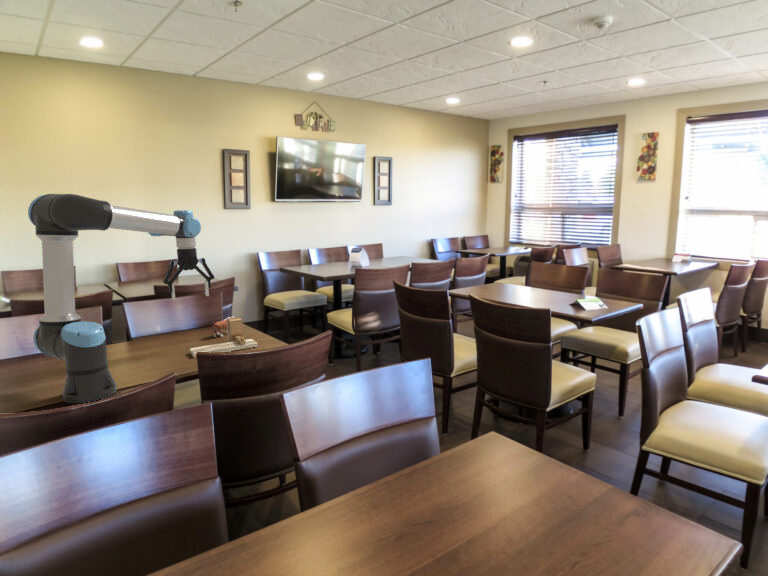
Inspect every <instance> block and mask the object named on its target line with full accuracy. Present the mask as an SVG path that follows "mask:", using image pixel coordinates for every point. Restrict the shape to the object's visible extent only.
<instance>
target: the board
mask: <svg viewBox="0 0 768 576" xmlns="http://www.w3.org/2000/svg"><path fill="white" fill-rule="evenodd" d="M244 340H245V341H246V344H240V343H238V342H237V341H233V342H228V341H227V342H220V343H216V344H215V343H213V344H210V345H209V344H208V345H203V346H197V347H191V348H189V353H190V355H191V356H192V357H193V358H194V359H197V358H196V353H197V352H209V353H211V352H228V353H232V352H231V351H233V350H239V349H245V348H251V347H257V348H258V347H259V346H258V345H259V344H258V342H257V341H255V340H254V339H253V338H247V339H244ZM251 349H252V348H251Z"/></svg>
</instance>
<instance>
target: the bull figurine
mask: <svg viewBox="0 0 768 576" xmlns="http://www.w3.org/2000/svg"><path fill="white" fill-rule="evenodd" d="M234 317H235V316H234V315H232V316H230V317H229V316H228V317H227V318H234ZM227 318H225V319H223V320H221V321H217V322H214V323H213V324H212V328H213V331H212V332H213V337H214V338H217V335H218V336H220V337H225V336H224V334H222V332H223V331H225V334H227V335H228V331H227ZM216 333H217V335H216Z"/></svg>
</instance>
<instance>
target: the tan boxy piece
mask: <svg viewBox="0 0 768 576" xmlns="http://www.w3.org/2000/svg"><path fill="white" fill-rule="evenodd" d="M226 319H227V331H228V334H227V342H233V341H237V342H238V343H240V344H246V341H245V340H246V339H245V337H244V332H243V331H244V329H243V319H242V318H241V317H239V316H237V317H236V316H234V318H228V317H226Z"/></svg>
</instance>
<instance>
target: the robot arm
mask: <svg viewBox="0 0 768 576" xmlns="http://www.w3.org/2000/svg"><path fill="white" fill-rule="evenodd" d="M172 213H173V214H169V213H162V212H156V211H149V210H144V209H136V208H130V207H125V206H118V205H112V204H111V203H110V202H109V201H107V200H99V199H95V198H91V197H87V196H84V195H79V194H74V193H47V194H42V195H39V196H37V197H36V198H34V199H33V200H32V201H31V202H30V203H29V206H28V208H27V214H28V219H29V220H30V223H32V225H33V226H34V228H35V236H36V237H37V238H38V239H40V241H41V251H42V252H41V253H42V254H41V255H42V275H43V277H42V278H43V279H42V281H43V303H44V304H43V307H44V314H43V315H42V316H41V317H40V318H38V319H39V325H38V327H37V328H36V329H35V330H34V333H33V337H32V338H33V339H32V340H33V343H34V346H35V348H36V349H37V350H38V351H39V352H40V353H41V354H43V355H45V356H47V357H49V358H53V359H54V358H55V359H59V360H63V361H64V362H65V370H66V371H65V372H66V378H65V382H64V384H63V390H62V400H63V401H64V402H65V403H68V404H87V403H86V402H88V403H92V402H91V401H94V402H97V401H96V400H98V401H100V400H99V399H101V400H103V399H106V398H109V397H111V396H113V395H115V393H117V391H118V390H117V383H116V380H115V378H114V377H113V375H112V374H111V371H110V369H109V363H108V361H109V360H108V354H107V343H106V334H105V330H104V327H103V326H102V324H100V323H98V322H94V321H82V318H81V316H80V315H79V314H78V313H77V312H76V294H75V293H76V292H75V263H74V261H75V260H74V259H75V257H74V241H75V240H76V239H78V237H79V231H108V230H109V229H114V230H122V231H132V232H141V233H148V235H149V236H151V237H161V236H163V237H164V236H166V237H175V243H176V248H177V249H176V253H177V255H176V256H177V260H170V261H169V265H168V268H167V271H166V273H165V276H164V278H163V280H162V283H163V284H164V285H167V287H168V293H170V294H171V300H173V301H176V293H175V290H176V289H175V284H174V282H175V280H176V279H178V277H179V276H180V274H181V272H183V271H194V270H195V271H196V272H198V273H199V274H200V276H202V277H203V279H205V280H204V289H205V290H204V292H205V296H206V297H210V291H209V289H211V287H212V286H211V281H212V280H214V279H215V276H214V274H213V272H212V271H211V269H210V268H209V266H208V264H207V263H206V259H205V258H204V257H201V258H198V256H197V248H196V246H197V245H196V243H197V241H196V237H197V236H198V235H199V234H200V233H201V229H202V225H201V221H200V220H199V219H198V218H196V217H194V212H193V211H192V210H190V209H183V210H181V209H179V210H178V209H177V210H174V211H172ZM198 263H199V264H200V265H202V267H203V268H204V270H205V271H206V273H207V274H206V273H205V271H203V270H202V269H201V268H200V267H199V266H198ZM176 265H178V267H177V269H176V271H175V272H174V273H173V270H174V269H175V268H174V267H175V266H176ZM172 273H173V274H172ZM171 275H172V276H171ZM170 277H171V278H170Z"/></svg>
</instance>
